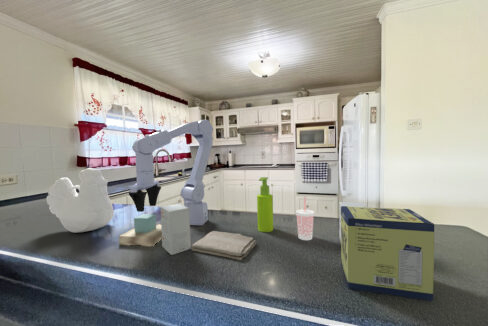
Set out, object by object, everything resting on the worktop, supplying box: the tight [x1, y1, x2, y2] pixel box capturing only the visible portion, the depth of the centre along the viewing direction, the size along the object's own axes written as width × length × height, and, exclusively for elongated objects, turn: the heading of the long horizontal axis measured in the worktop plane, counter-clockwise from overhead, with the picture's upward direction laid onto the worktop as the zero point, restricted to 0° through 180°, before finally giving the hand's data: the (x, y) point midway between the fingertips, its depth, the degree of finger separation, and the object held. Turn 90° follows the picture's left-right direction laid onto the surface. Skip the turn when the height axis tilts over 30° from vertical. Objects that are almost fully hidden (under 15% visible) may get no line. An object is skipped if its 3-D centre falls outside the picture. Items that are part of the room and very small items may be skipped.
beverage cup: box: [295, 196, 315, 241], centre depth 73 cm, size 6×6×14 cm
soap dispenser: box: [256, 176, 274, 233], centre depth 81 cm, size 6×7×20 cm
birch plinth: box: [118, 223, 162, 247], centre depth 76 cm, size 12×12×3 cm
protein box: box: [340, 206, 435, 302], centre depth 48 cm, size 10×16×16 cm
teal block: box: [133, 213, 157, 233], centre depth 75 cm, size 5×5×5 cm
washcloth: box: [191, 230, 257, 261], centre depth 67 cm, size 12×18×3 cm, turn 68°
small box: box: [160, 203, 192, 256], centre depth 67 cm, size 8×6×13 cm
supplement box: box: [338, 201, 367, 242], centre depth 67 cm, size 7×7×13 cm
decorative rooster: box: [45, 167, 115, 234], centre depth 87 cm, size 25×16×25 cm, turn 75°
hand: (146, 208), depth 78 cm, fingers open, 7 cm apart
